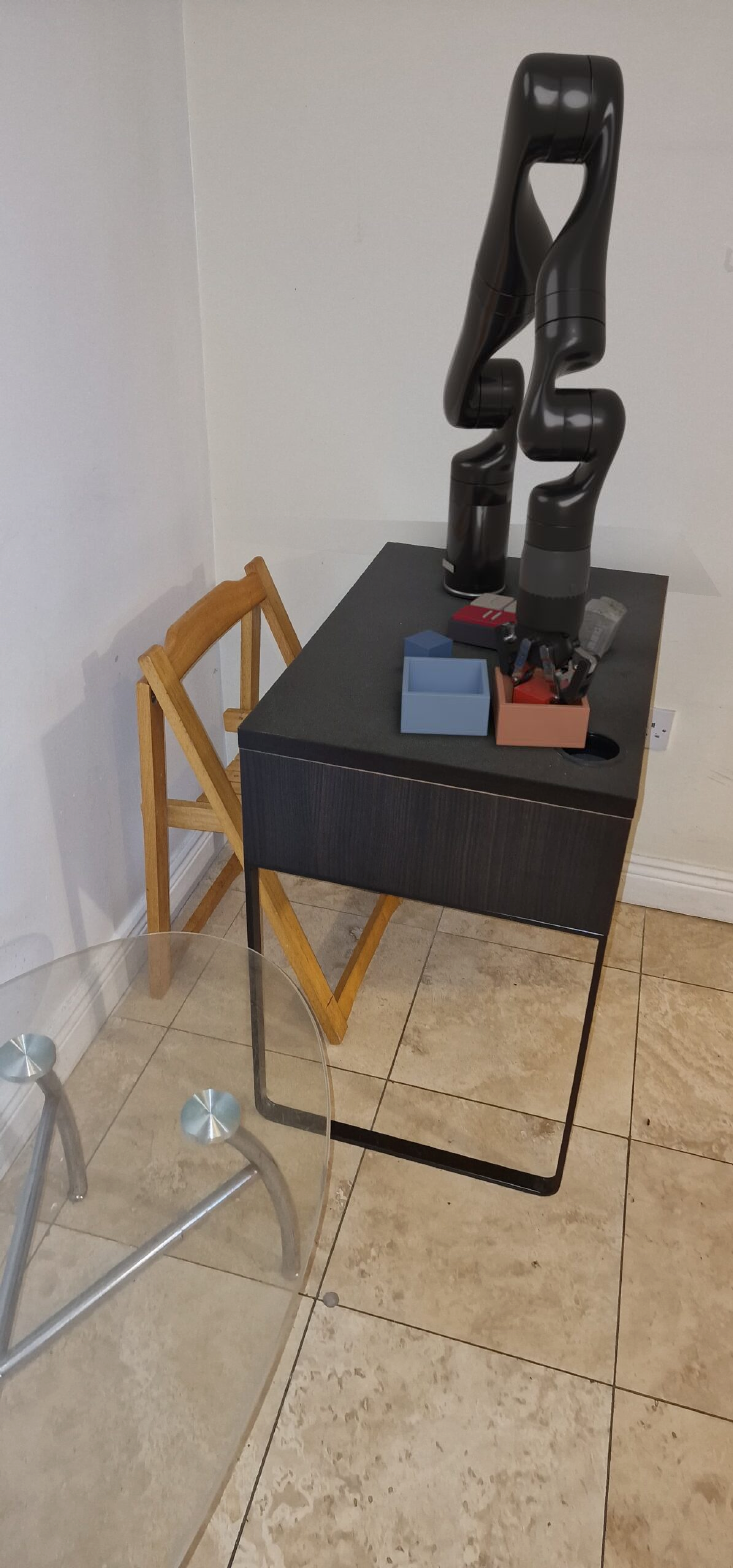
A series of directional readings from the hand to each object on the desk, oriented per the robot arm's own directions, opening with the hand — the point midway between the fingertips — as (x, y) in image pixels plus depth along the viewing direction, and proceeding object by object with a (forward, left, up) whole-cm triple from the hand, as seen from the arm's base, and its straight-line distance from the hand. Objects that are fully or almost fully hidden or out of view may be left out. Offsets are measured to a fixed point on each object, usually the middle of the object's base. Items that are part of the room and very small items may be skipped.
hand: (537, 719), depth 120 cm
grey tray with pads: (-25, -1, -1) cm, 25 cm away
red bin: (0, 0, -1) cm, 1 cm away
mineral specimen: (-21, +9, -1) cm, 23 cm away
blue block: (-14, -13, -1) cm, 19 cm away
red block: (0, 0, 0) cm, 0 cm away
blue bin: (-2, -11, -1) cm, 11 cm away
